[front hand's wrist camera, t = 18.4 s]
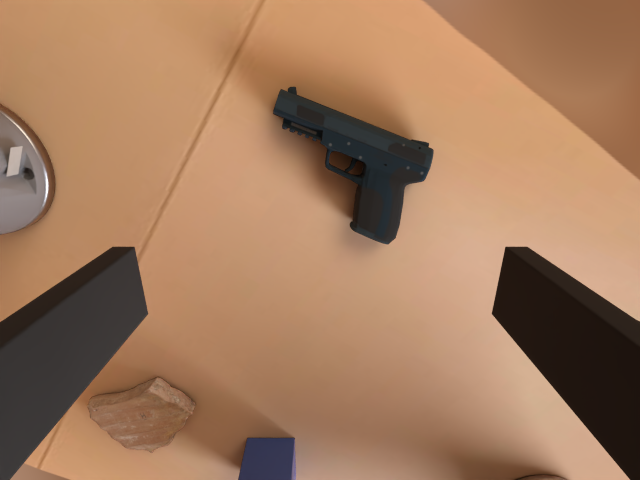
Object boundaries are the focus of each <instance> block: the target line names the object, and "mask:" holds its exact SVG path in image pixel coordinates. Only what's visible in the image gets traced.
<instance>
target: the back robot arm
mask: <svg viewBox="0 0 640 480" xmlns="http://www.w3.org/2000/svg"><path fill="white" fill-rule="evenodd" d="M518 480H565V479H563V478H560V477H556V476H551V475H535V476H529V477H525V478H521V479H518Z"/></svg>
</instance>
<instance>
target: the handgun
mask: <svg viewBox="0 0 640 480" xmlns="http://www.w3.org/2000/svg"><path fill="white" fill-rule="evenodd" d="M273 114H275V115H277V116H280V117H282V118H284V119H283V125H282V128H283V129H287V128H290V132H295V130H296V131H298V133H297V134H298V135H302V133H303V134H306V135H305V137H306V138H309V136H311V137H313V139H312V140H314V141H316V139H319V140H321V142H320V143H321V144H323V145H324V146H326V148H327V153H326V160H325V165H326V168H327V169H329V170H331V171H333V172H335V173H337V174H339V175H341V176H344V177H346V178H348V179H350V180H352V181H353V182H355V183H357V184H358V187H357V190H356V195H355V204H354V213H353V221H352V222H351V223H350V227H351V229H352V230H353V231H355V232H357V233H360V234H362V235H364V236H366V237H368V238H371V239H373V240H375V241H378V242H381V243H384V244H389V243H390V242H391V241H393V240H394V239H395V238H396V235H397V231H398V228H399V225H400V219H401V212H402V206H403V197H404V189H405V186H406V185H408V184H412V183H417V182H422V181H424V180H425V178H426V176H427V174H428V172H429V169H430V166H431V163H432V159H433V149H431V148H429V147H428V146H429V143H427V142H422V141H417V140H409V139H406V138H404V137H401V136H399V135H396V134H394V133H391V132H389V131H386V130H384V129H381V128H379V127H376V126H374V125H371V124H369V123H366V122H364V121H361V120H359V119H356V118H354V117H351V116H349V115H346V114H344V113H341V112H339V111H336V110H334V109H331V108H329V107H326V106H324V105H321V104H319V103H316V102H314V101H311V100H309V99H306V98H304V97H301V96H299V95H297V92H296V87H290V88H288V92H287V91H284V90H282V89H281V90H280V92H279V95H278V98H277V101H276V104H275V107H274V111H273ZM332 151H338V152H341V153H343V154H346V155H348V156H351V157H353V159H352V161H351V164H350V166H349V167H348V168H347V169H345V171H346V172H345V171H343V170H341V169H339V168H337V167H335V166H333V165H330V163H329V156H330V153H331V152H332ZM356 161H361V162H364V163H363V169H362V173H361V174H360V175H353V174H350V173H347V172H348V171H350V170H351V169H352V168H353V167H354V165H355V163H356Z"/></svg>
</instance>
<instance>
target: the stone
mask: <svg viewBox="0 0 640 480" xmlns="http://www.w3.org/2000/svg"><path fill="white" fill-rule="evenodd" d="M195 405H196V404H195V403H194V402H193V401H192V400H191V399H190V398H189V397H188V396H186V395H185V394H184V393H183V392H181V391H179V390H178V389H175V388H172V387H171V386H170V385H169V384H168V383H167V382H165V381H164V380H163V379H161V378H155V379H152V380H149V381H147V382H146V383H143V384H139V385H138V386H136V387H135V388H134V389H130V390H128V391H125V392H121V393H112V394H103V395H97V396H94V397H92V398H91V399H90V400H89V404H88V406H87V407H88V409H89V412H90V418H91V419H92V420H94V421H95V422H96V423H97V424H98V425H99V426H100V428H102V429H103V430H105V431H106V432H107V433H108V434H109V435H110V436H111V437H112V438H113V439H115V440H117V441H118V442H120V443H121V444H122V445H123V446H124V447H125V448H127V449H133V450H147V451H149V452H151V453H153V451H154V450H155V449H157V448H160V447H163V446H167V445H169V444H170V442H171V441H172V440H173V438H174V435H175V434H176V432H177V431H179V430H181V429H182V428H183V427H184V425H185V423H186V420H187V418H188V417H189V416H190V415H192V413H193V410H194V408H195Z"/></svg>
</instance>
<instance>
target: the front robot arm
mask: <svg viewBox="0 0 640 480" xmlns="http://www.w3.org/2000/svg"><path fill="white" fill-rule="evenodd" d="M54 191H55V176H54V170H53V167H52V163H51V160H50V158H49V155H48V153H47V151H46V149H45V147H44V146H43V144H42V142H41V141H40V139H39V138H38V136H37V135H36V134H35V133H34V131H33V130H32V129H31V128H30V127H29V126H28V125H27V124H26V123H25V122H24V121H23V120H22V119H21V118H19V117H18V116H17V115H16V114H14V113H13V112H12V111H10V110H9V109H7V108H5V107H4V106H2V105H0V235H1V234H6V233H11V232H15V231H18V230H20V229H23V228H25V227H28V226H30V225H32V224H34V223H35V222H37V221H38V220H39V219H41V218H42V217H43V216H44V215H45V213H46V212H47V211H48V209H49V207H50V205H51V203H52V200H53V197H54ZM147 315H148V311H147V306H146V301H145V296H144V291H143V286H142V281H141V277H140V272H139V267H138V262H137V257H136V252H135V247H112V248H110V249H109V250H107V251H106V252H104V253H103V254H101V255H100V256H98V257H97V258H95V259H94V260H92V261H91V262H89V263H88V264H86V265H85V266H83V267H82V268H80V269H79V270H78V271H76V272H75V273H73V274H72V275H70V276H69V277H67V278H66V279H64V280H63V281H61V282H60V283H58V284H57V285H55V286H54V287H52V288H51V289H49V290H48V291H46V292H45V293H43V294H42V295H40V296H39V297H37V298H36V299H34V300H33V301H31V302H30V303H28V304H27V305H25V306H24V307H22V308H21V309H19V310H18V311H16V312H15V313H13V314H12V315H10V316H9V317H7V318H6V319H4V320H3V321H1V322H0V480H10V479H11V478H12V476H13V475H14V474H15V473H16V472H17V470H18V469H19V468H20V467H21V466H22V464H23V463H24V462H25V461H26V460H27V458H28V457H29V456H30V455H31V454H32V452H33V451H34V450H35V449H36V448H37V446H38V445H39V444H40V443H41V442H42V440H43V439H44V438H45V437H46V436H47V434H48V433H49V432H50V431H51V430H52V428H53V427H54V426H55V425H56V424H57V422H58V421H59V420H60V419H61V418H62V416H63V415H64V414H65V413H66V412H67V410H68V409H69V408H70V407H71V406H72V404H73V403H74V402H75V401H76V400H77V398H78V397H79V396H80V395H81V394H82V392H83V391H84V390H85V389H86V388H87V386H88V385H89V384H90V383H91V382H92V380H93V379H94V378H95V377H96V376H97V374H98V373H99V372H100V371H101V370H102V369H103V367H104V366H105V365H106V364H107V363H108V361H109V360H110V359H111V358H112V357H113V355H114V354H115V353H116V352H117V351H118V349H119V348H120V347H121V346H122V345H123V343H124V342H125V341H126V340H127V339H128V337H129V336H130V335H131V334H132V333H133V331H134V330H135V329H136V328H137V327H138V325H139V324H140V323H141V322H142V321H143V319H144V318H145V317H146V316H147ZM492 315H493V316H494V317H495V318H496V319H497V321H498V322H499V323H500V324H501V325H502V327H503V328H504V329H505V330H506V331H507V333H508V334H509V335H510V336H511V337H512V339H513V340H514V341H515V342H516V343H517V345H518V346H519V347H520V348H521V349H522V351H523V352H524V353H525V354H526V355H527V357H528V358H529V359H530V360H531V361H532V363H533V364H534V365H535V366H536V367H537V369H538V370H539V371H540V372H541V373H542V374H543V376H544V377H545V378H546V379H547V380H548V382H549V383H550V384H551V385H552V386H553V388H554V389H555V390H556V391H557V392H558V394H559V395H560V396H561V397H562V398H563V400H564V401H565V402H566V403H567V404H568V406H569V407H570V408H571V409H572V410H573V412H574V413H575V414H576V415H577V416H578V418H579V419H580V420H581V421H582V422H583V424H584V425H585V426H586V427H587V428H588V430H589V431H590V432H591V433H592V434H593V436H594V437H595V438H596V439H597V440H598V442H599V443H600V444H601V445H602V446H603V448H604V449H605V450H606V451H607V452H608V454H609V455H610V456H611V457H612V458H613V460H614V461H615V462H616V463H617V464H618V466H619V467H620V468H621V469H622V470H623V472H624V473H625V474H626V475H627V476H628V478H629V479H630V480H640V321H638V320H636V319H634V318H633V317H631V316H630V315H628V314H627V313H625V312H624V311H622V310H621V309H619V308H618V307H616V306H615V305H613V304H612V303H610V302H609V301H607V300H606V299H604V298H603V297H601V296H600V295H598V294H597V293H595V292H594V291H592V290H591V289H589V288H588V287H586V286H585V285H583V284H582V283H580V282H579V281H577V280H576V279H574V278H573V277H571V276H570V275H568V274H567V273H565V272H564V271H562V270H561V269H560V268H558V267H557V266H555V265H554V264H552V263H551V262H549V261H548V260H546V259H545V258H543V257H542V256H540V255H539V254H537V253H536V252H534V251H533V250H531V249H530V248H528V247H505V252H504V257H503V262H502V267H501V272H500V277H499V281H498V286H497V291H496V296H495V301H494V306H493V311H492Z"/></svg>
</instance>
